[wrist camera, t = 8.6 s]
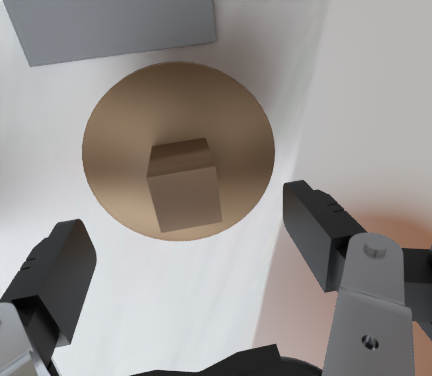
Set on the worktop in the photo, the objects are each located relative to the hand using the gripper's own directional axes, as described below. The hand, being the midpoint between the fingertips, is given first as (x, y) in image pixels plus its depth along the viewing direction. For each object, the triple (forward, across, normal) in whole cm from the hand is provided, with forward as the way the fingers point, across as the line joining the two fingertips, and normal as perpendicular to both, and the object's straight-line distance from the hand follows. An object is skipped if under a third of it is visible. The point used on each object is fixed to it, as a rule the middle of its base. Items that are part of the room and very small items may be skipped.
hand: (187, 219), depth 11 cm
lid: (+7, 0, 0) cm, 7 cm away
